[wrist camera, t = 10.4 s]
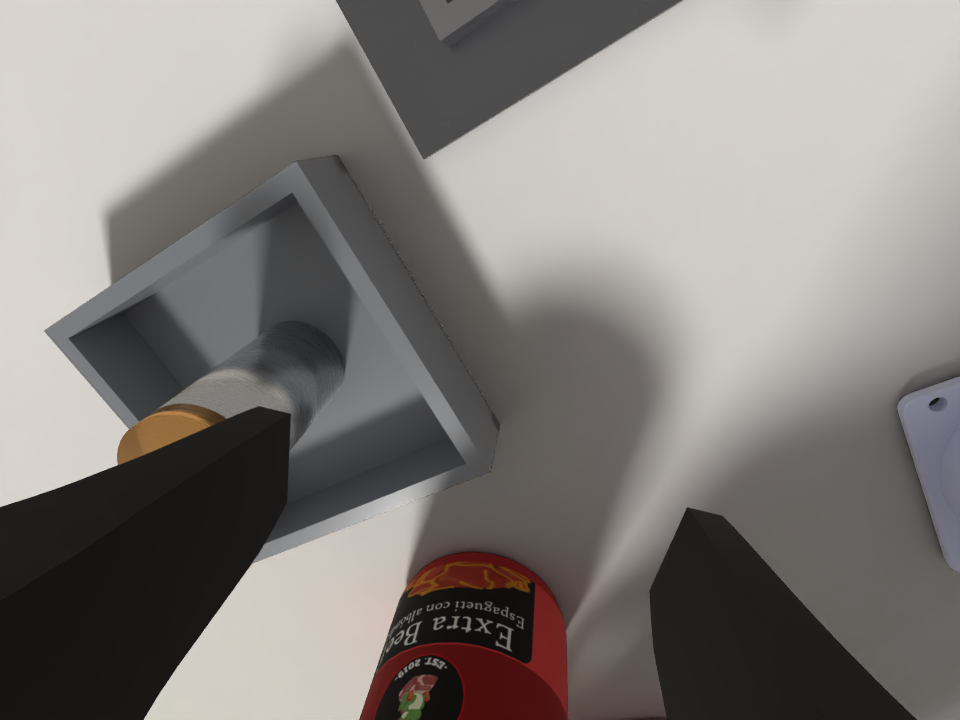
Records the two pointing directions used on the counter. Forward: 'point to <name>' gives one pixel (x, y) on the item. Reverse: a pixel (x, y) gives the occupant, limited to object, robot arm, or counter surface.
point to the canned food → (473, 646)
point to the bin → (312, 300)
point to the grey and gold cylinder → (249, 388)
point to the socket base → (481, 53)
